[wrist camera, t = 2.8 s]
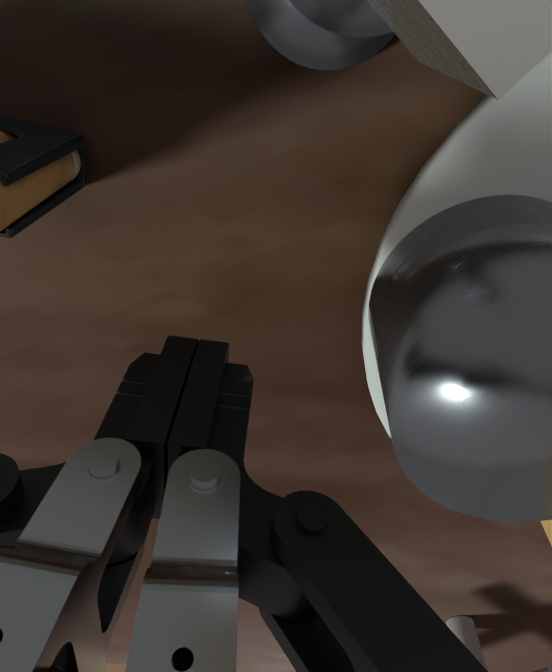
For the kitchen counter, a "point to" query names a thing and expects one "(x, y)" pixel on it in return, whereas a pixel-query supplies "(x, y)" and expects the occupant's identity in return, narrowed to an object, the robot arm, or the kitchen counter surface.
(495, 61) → the stand
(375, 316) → the cover
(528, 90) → the platter
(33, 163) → the ammunition clip
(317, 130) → the kitchen counter surface
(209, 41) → the kitchen counter surface
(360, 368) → the kitchen counter surface
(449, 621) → the pipe connector
